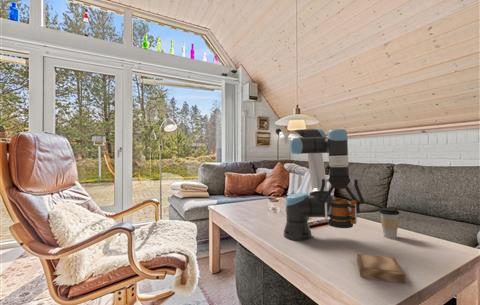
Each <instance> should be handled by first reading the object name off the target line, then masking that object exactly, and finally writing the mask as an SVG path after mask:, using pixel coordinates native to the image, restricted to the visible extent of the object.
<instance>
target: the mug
mask: <svg viewBox="0 0 480 305" xmlns="http://www.w3.org/2000/svg"><path fill="white" fill-rule="evenodd" d="M356 203H357V201H356V200H354V199H352V200H351V201H350V203H348V199H344V198H341V197H335V199H332V202H330V203H328V204H329V205H330V206H331V213H330V215H327V216H329V217H328V222H327V224H328V225H329V226H330V227H331V228H336V229H351V228H353V227H354V225H356V224H357V222H356V221H355V204H356ZM349 208H350V209H349Z"/></svg>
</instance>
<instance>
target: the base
mask: <svg viewBox="0 0 480 305" xmlns="http://www.w3.org/2000/svg"><path fill="white" fill-rule="evenodd" d="M356 263H357V268H358V273H359V276H360V278H367V279H373V280H379V281H386V282H392V283H393V282H394V283H400V284H406V283H407V282H406V279H407V278H406V274H405V272H404V270H403V268H402V267H401V265H400V264H399V262H398V260H397V258H396V257H391V256H383V255H382V256H381V255H373V254H364V253H356Z"/></svg>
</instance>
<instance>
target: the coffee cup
mask: <svg viewBox="0 0 480 305" xmlns="http://www.w3.org/2000/svg"><path fill="white" fill-rule="evenodd" d="M378 213H380V220H381V221H380V222H381V228H382V233H383V237H384V238H386V239H390V240H393V239H397V236H398V229H399V228H398V226H399V215H400V211H399V210H398V208H396V207H387V206H386V207H385V206H383V207H380V209H379V210H378Z"/></svg>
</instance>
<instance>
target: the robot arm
mask: <svg viewBox="0 0 480 305" xmlns="http://www.w3.org/2000/svg"><path fill="white" fill-rule="evenodd" d="M348 139H349V137H348V131H347V130H346V129H344V128H340V129H339V128H337V129H330V130H328V132H327V136H326V132H325V131H324V130H323V129H322V128H310V129H308V128H307V129H306V128H305V129H300V128H299V129H294V130H292V131H289V132H287V134H286V135H285V137H284V142H285V144H286V145H287V146H288V148H289V150H290V153H291V154H293V155H294V154H295V155H302V154H307V159H308V168H309V178H310V186H311V187H310V188H311V191H310V192H309V195H308V194H307V193H305V192H304V193H303V192H301V193H300V192H297V193H292V194H288V195H287V196H286V198H285V207H286V208H285V211H286V213H285V214H286V216H285V217H286V222H285V225H284V228H283V236H284V238H286V239H288V240H292V241H307V240H310V239H312V230H311V227H310V225H309V221H308V220H309V218H325V220H328V219H329V218H330V217H329V216H327V215H330V213H331V206H330V205H329V204H328V203H330V202H332V199H336V196H334V195H332V192H333V191H334V189H335V190H339V189H340V190H344V189H345V191H346V192H347V193H348V195H349V196H350V198H351V199H352V200H353V199H354V200H356V201H357V203H356V204H355V221H356V223H357V222H358V218H357V217H358V216H357V215H358V214H359V213H360V208H361V207H360V205H361V204H362V205H363V204H365V199H364V198H363V195H362V193H361V190H360V186H359V185H358V181H359V180H358V179H357V178H354V179H353V178H350V172H349V168H350V167H348V166H349V151H348V150H349V149H348V148H349V147H348V143H349V142H348ZM323 154H328V166H329V168H328V170H329V172H328V173H329V174H328V175H329V176H328V178H326V177H327V176H326V172H325V171H326V170H325V163H324V156H323ZM328 183H329V184H330V185H331V186H330V187H329V189H328ZM350 183H351V184H352V185H354V189H355V191H356V193H357V195H358V199H359V200H358V199H357V198H356V196H355V194H354V193H353V191H352V189H351V188H350V187H349V184H350Z"/></svg>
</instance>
